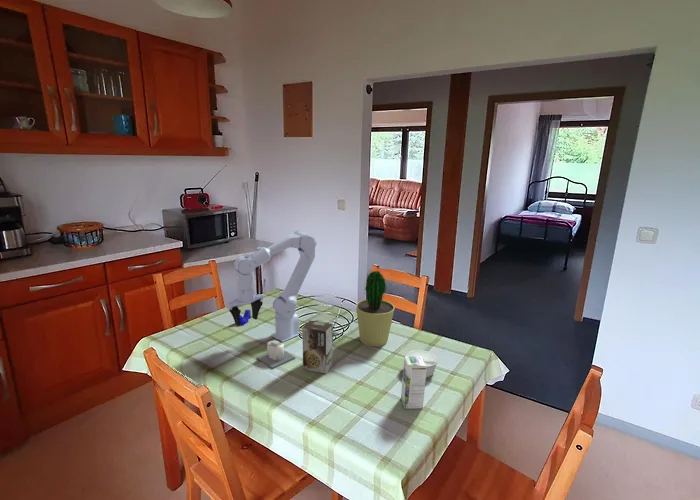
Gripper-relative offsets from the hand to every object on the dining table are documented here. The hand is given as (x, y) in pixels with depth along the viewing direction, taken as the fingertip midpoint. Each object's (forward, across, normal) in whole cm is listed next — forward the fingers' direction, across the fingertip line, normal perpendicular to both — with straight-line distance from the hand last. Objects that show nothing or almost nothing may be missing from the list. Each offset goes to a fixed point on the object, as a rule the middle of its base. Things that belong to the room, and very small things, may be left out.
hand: (246, 321), depth 144 cm
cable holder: (+10, -11, -20) cm, 25 cm away
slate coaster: (+10, -2, +16) cm, 19 cm away
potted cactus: (+10, -39, +32) cm, 51 cm away
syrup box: (+10, -16, +66) cm, 68 cm away
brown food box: (+10, -9, +31) cm, 34 cm away
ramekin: (+10, -33, +58) cm, 67 cm away
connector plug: (+9, -2, +16) cm, 18 cm away
